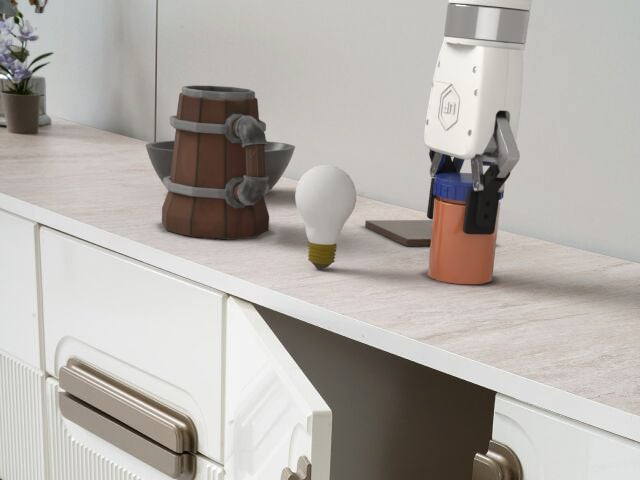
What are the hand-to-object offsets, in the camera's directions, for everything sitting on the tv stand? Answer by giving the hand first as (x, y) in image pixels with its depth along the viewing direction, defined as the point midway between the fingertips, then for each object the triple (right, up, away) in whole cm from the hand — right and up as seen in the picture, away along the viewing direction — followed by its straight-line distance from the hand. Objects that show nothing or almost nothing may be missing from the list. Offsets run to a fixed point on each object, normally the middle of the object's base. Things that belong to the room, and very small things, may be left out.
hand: (459, 224), depth 110 cm
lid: (+1, +4, -1) cm, 4 cm away
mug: (-24, +2, +15) cm, 29 cm away
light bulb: (-14, -4, +2) cm, 14 cm away
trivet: (-1, +4, +22) cm, 22 cm away
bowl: (-27, +13, +39) cm, 49 cm away
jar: (0, -5, +2) cm, 5 cm away
